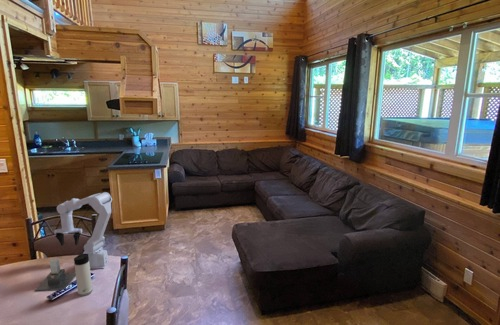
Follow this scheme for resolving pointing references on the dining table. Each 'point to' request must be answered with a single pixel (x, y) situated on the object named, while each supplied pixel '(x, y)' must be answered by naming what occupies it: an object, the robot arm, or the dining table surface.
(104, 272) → the dining table surface
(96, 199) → the robot arm
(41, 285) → the stand base
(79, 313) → the dining table surface
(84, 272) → the travel mug
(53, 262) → the column
